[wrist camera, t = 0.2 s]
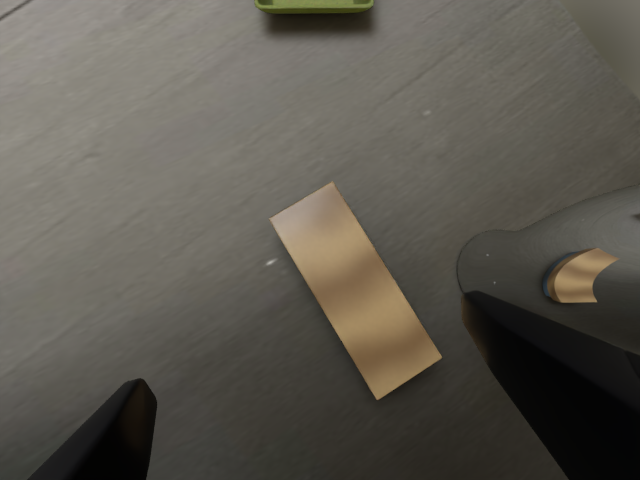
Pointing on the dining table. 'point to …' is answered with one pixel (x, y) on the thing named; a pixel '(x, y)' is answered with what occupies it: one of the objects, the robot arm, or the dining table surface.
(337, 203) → the scrub brush
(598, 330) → the beer glass
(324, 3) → the green tray
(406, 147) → the dining table surface
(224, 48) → the dining table surface
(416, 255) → the dining table surface
